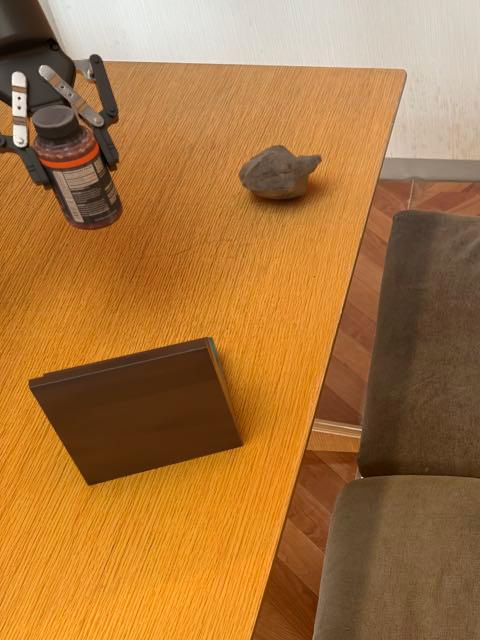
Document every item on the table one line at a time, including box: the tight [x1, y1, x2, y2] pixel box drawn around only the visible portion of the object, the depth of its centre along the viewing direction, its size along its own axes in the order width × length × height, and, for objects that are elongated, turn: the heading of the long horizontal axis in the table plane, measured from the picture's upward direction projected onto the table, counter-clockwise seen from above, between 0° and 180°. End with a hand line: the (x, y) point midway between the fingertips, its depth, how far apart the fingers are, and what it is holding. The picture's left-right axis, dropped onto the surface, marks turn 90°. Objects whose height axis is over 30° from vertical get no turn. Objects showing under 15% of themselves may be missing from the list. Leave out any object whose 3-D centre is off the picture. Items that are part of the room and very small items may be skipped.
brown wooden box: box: [27, 336, 244, 486], centre depth 93 cm, size 15×16×14 cm
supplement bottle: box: [31, 105, 124, 231], centre depth 92 cm, size 6×6×11 cm
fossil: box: [238, 144, 323, 200], centre depth 120 cm, size 11×9×8 cm
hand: (81, 177), depth 91 cm, fingers closed on supplement bottle, 6 cm apart
